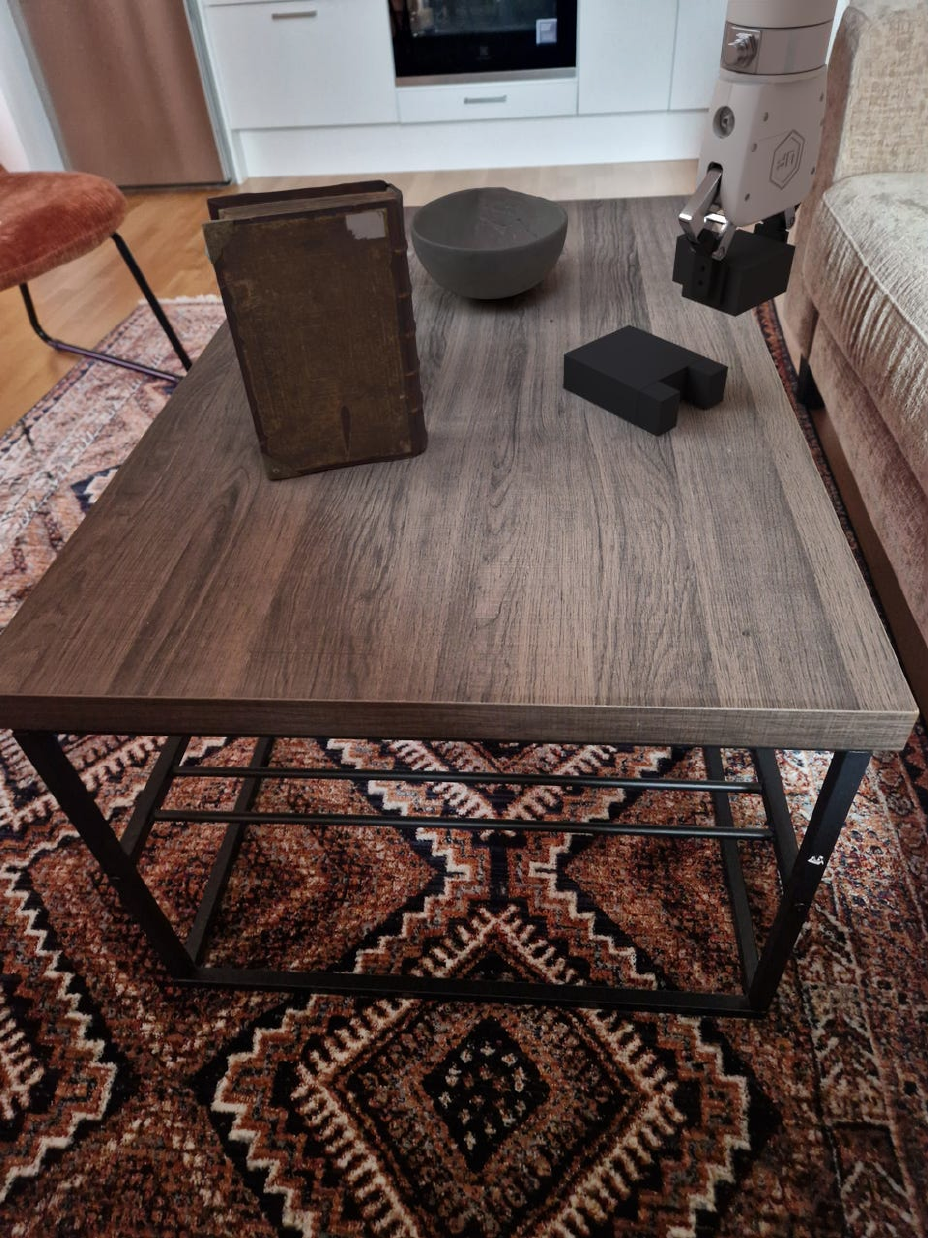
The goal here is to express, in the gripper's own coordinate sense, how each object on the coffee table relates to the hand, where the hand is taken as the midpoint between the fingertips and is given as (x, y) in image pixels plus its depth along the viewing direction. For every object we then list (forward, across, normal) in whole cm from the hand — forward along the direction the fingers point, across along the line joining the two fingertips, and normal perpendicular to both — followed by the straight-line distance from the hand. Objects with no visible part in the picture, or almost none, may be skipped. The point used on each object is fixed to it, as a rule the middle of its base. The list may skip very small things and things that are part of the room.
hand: (735, 285), depth 75 cm
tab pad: (+1, 0, +1) cm, 2 cm away
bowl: (+16, +7, +43) cm, 46 cm away
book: (+15, -29, +22) cm, 40 cm away
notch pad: (+15, +1, +10) cm, 18 cm away
